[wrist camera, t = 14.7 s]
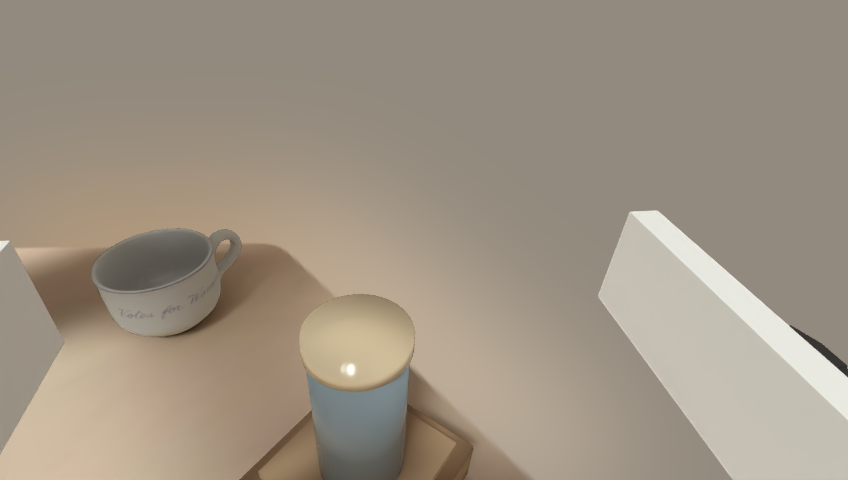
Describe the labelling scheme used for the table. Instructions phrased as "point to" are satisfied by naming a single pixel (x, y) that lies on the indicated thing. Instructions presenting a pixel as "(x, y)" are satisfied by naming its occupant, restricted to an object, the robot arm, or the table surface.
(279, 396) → the table surface
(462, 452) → the pedestal
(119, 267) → the teacup
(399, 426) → the canister
